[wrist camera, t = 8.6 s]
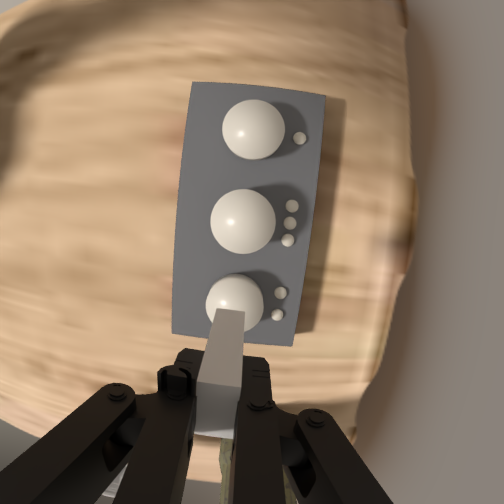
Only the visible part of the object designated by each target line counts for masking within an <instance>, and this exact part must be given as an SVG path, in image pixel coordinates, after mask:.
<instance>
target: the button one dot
mask: <svg viewBox="0 0 504 504" xmlns="http://www.w3.org/2000/svg"><path fill="white" fill-rule="evenodd" d="M222 133H223V137H224V140H225V142H226V144H227V146H228V147H229V149H230V150H231V151H232V152H233V153H234V154H235V155H237V156H238V157H240V158H242V159H246V160H252V161H255V160H262V159H265V158H267V157H269V156H270V155H272V154H273V153H274V152H275V151H276V150H277V149H278V147H279V146H280V144H281V143H282V140H283V138H284V134H285V124H284V120H283V118H282V116H281V114H280V113H279V111H278V110H277V109H276V108H275V107H274V106H272V105H271V104H269V103H267V102H265V101H261V100H246V101H242V102H240V103H238V104H236V105H235V106H233V107H232V108H231V109H230V110H229V111H228V113H227V114H226V116H225V118H224V121H223V125H222Z"/></svg>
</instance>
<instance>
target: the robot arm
mask: <svg viewBox="0 0 504 504" xmlns="http://www.w3.org/2000/svg"><path fill="white" fill-rule="evenodd" d="M244 323H245V311H237V310H229V309H222V308H217V309H216V312H215V316H214V320H213V323H212V327H211V330H210V334H209V338H208V341H207V345H206V349H205V351H201V350H194V349H188V348H185V349H183V350H182V351H181V352H179V353H178V355H177V358H176V361H175V363H174V365H170V366H165V367H163V368H161V369H160V370H159V371H158V372H157V378H158V391H157V393H153V394H146V395H136V394H135V392H134V390H133V389H132V388H131V387H129V386H128V385H125V384H122V383H111V384H107V385H105V386H104V387H102V388H101V389H100V390H98V391H97V392H96V393H95V394H94V395H92V396H91V397H90V398H89V399H88V400H86V401H85V402H84V403H83V404H82V405H80V406H79V407H78V408H77V409H76V410H74V411H73V412H72V413H71V414H70V415H68V416H67V417H66V418H65V419H64V420H62V421H61V422H60V423H59V424H58V425H56V426H55V427H54V428H53V429H52V430H50V431H49V432H48V433H47V434H46V435H44V436H43V437H42V438H41V439H40V440H38V441H37V442H36V443H35V444H33V445H32V446H31V447H30V448H29V449H27V450H26V451H25V452H24V453H23V454H21V455H20V456H19V457H18V458H16V459H15V460H14V461H13V462H12V463H10V465H8V466H7V467H6V468H4V469H3V470H2V471H1V472H0V504H94V503H95V502H96V501H97V500H98V498H99V497H100V496H101V495H102V494H103V492H104V491H105V490H106V489H107V488H108V486H109V485H110V484H111V483H112V482H113V480H114V479H115V478H116V477H117V476H118V474H119V473H120V472H121V471H122V469H123V468H124V467H125V466H126V465H127V463H128V465H127V467H126V470H125V472H124V475H123V477H122V480H121V482H120V485H119V488H118V490H117V493H116V495H115V498H114V501H113V503H112V504H181V501H182V496H183V491H184V486H185V481H186V476H187V471H188V466H189V461H190V456H191V451H192V446H193V434H199V435H205V436H212V437H220V438H228V439H233V443H232V449H231V455H230V460H231V463H230V477H229V490H228V504H286V498H285V487H284V477H283V469H284V472H285V474H286V476H287V478H288V481H289V483H290V485H291V487H292V490H293V492H294V494H295V496H296V498H297V500H298V503H299V504H393V502H392V501H391V500H390V498H389V497H388V496H387V494H386V493H385V491H384V490H383V488H382V487H381V486H380V484H379V483H378V481H377V480H376V479H375V478H374V476H373V474H372V473H371V472H370V470H369V469H368V467H367V466H366V465H365V463H364V462H363V460H362V459H361V458H360V456H359V455H358V454H357V452H356V450H355V449H354V448H353V446H352V445H351V443H350V442H349V440H348V439H347V438H346V436H345V435H344V433H343V432H342V430H341V429H340V427H339V426H338V425H337V423H336V422H335V420H334V419H333V417H332V416H331V415H330V414H329V413H327V412H325V411H323V410H319V409H306V410H303V411H302V412H300V413H299V414H298V415H294V414H290V413H287V412H284V411H282V410H281V409H279V408H278V407H277V406H276V404H275V402H274V401H273V400H272V390H271V380H270V369H269V364H268V362H267V361H266V360H265V358H262V357H252V356H243V343H244Z"/></svg>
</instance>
